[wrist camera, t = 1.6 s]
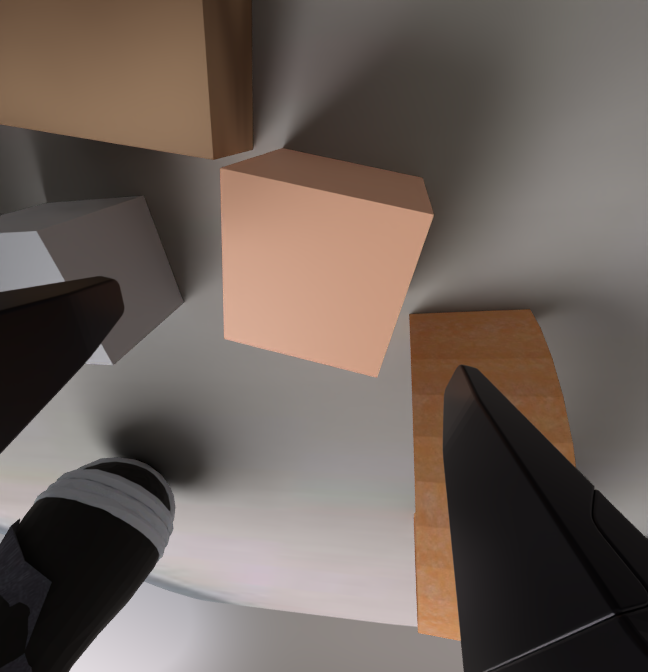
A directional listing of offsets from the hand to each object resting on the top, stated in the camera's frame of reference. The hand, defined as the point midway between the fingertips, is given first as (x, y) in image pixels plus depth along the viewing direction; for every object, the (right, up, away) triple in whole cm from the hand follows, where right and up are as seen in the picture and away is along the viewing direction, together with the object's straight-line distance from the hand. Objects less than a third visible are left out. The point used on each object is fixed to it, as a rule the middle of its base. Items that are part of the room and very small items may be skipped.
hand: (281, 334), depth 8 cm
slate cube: (-10, +5, +10) cm, 15 cm away
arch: (+10, -7, +14) cm, 18 cm away
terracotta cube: (+2, +5, +7) cm, 9 cm away
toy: (-16, -12, +23) cm, 31 cm away
